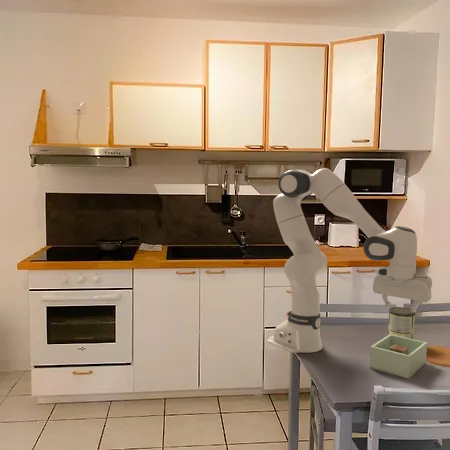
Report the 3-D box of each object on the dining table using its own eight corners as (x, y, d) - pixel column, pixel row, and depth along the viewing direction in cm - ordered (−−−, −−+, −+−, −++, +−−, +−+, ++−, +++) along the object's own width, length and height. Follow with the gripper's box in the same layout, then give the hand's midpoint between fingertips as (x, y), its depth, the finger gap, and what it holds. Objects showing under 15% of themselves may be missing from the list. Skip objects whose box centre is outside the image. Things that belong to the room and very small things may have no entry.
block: (388, 363, 174) (389, 347, 174) (393, 359, 178) (394, 344, 177) (402, 367, 171) (403, 351, 170) (407, 363, 175) (408, 347, 174)
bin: (369, 367, 172) (370, 346, 171) (389, 354, 186) (389, 334, 185) (408, 378, 163) (409, 356, 162) (425, 363, 177) (427, 342, 176)
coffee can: (383, 339, 203) (385, 306, 201) (407, 339, 203) (409, 306, 202) (393, 347, 193) (394, 314, 191) (418, 347, 193) (420, 313, 191)
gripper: (435, 274, 167) (432, 313, 168) (378, 266, 180) (377, 302, 182) (429, 277, 162) (426, 317, 164) (371, 269, 175) (370, 305, 177)
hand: (400, 309), depth 173 cm, fingers open, 8 cm apart
